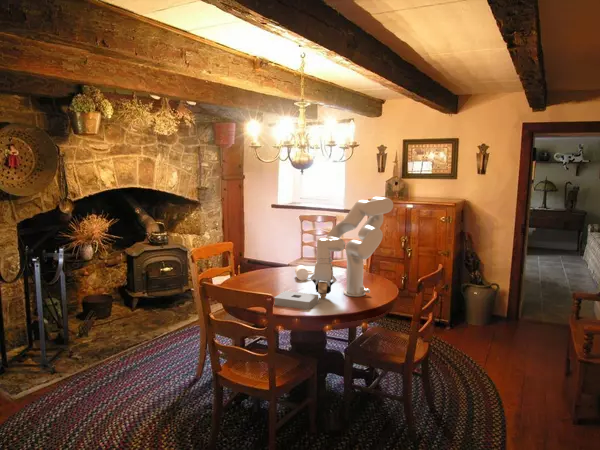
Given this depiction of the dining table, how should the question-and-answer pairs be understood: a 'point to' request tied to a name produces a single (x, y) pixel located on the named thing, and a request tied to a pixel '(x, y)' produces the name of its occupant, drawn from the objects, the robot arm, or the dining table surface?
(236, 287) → the dining table surface
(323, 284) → the maple peg
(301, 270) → the mug
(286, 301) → the grey block with hole
